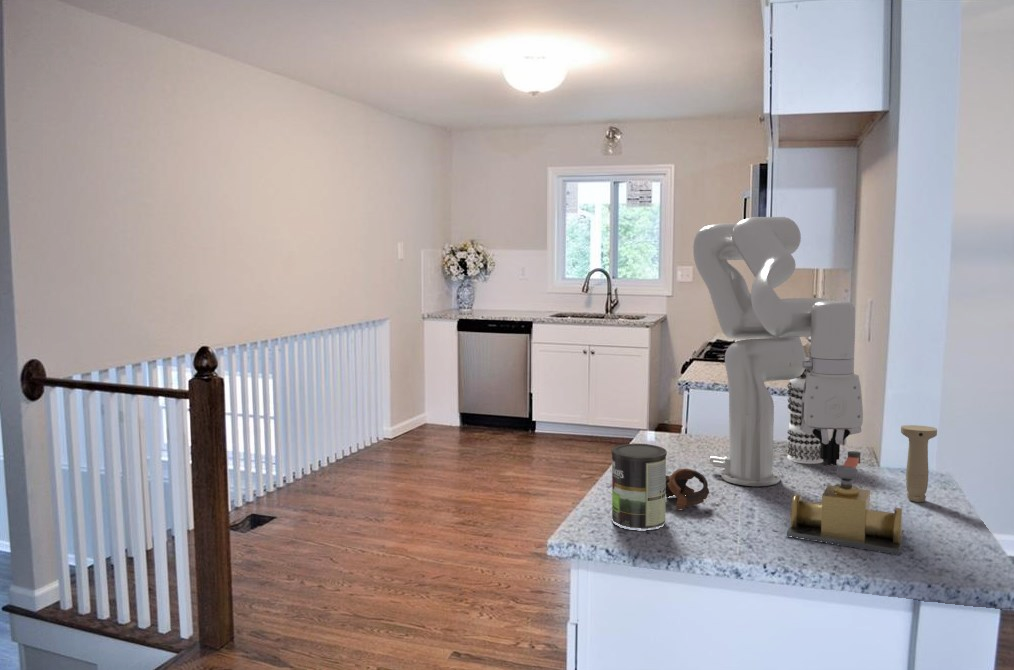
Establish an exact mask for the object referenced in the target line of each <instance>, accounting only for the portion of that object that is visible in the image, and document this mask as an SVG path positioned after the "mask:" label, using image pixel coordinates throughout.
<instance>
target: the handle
mask: <svg viewBox="0 0 1014 670" xmlns="http://www.w3.org/2000/svg"><path fill="white" fill-rule="evenodd" d="M900 433H901V435H903V436H904V437H907V438H908V448H907V449H908V451H907V461H906V472H905V480H906V481H905V483H906V485H905V486H906V491H907V493H906V495H907V496H906V497H907V499H908V501H910V502H914V503H925V502H926V498H927V496H926V494H927V491H928V485H929V456H928V455H929V447H928V446H929V440H931V439H933V438H935V437H937V436H938V429H937V428H936V427H935V426H926V425H915V424H914V425H912V424H909V425H908V424H906V425H901V426H900Z"/></svg>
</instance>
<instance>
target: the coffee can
mask: <svg viewBox="0 0 1014 670" xmlns="http://www.w3.org/2000/svg"><path fill="white" fill-rule="evenodd" d="M610 451H611V455H612V456H611V475H612V478H611V479H612V480H611V487H612V488H611V489H612V490H611V491H612V493H611V496H612V497H611V498H612V499H611V500H612V501H611V505H612V506H611V509H612V510H611V511H612V513H611V520H612V519H613V521H614V522H616V523H618V524H620V525H622V526H626V527H630V528H641V529H648V528H656V527H659V526H662V525H663V524H664V523H665V521H666V502H667V501H666V500H667V499H666V476H667V475H666V474H667V465H666V464H667V453H668V452H667V450H666V448H664V447H662V446H658V445H656V444H655V445H654V444H650V443H649V444H647V443H624V444H619V445H616V446H613V447H612V448H611V450H610Z"/></svg>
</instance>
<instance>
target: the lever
mask: <svg viewBox="0 0 1014 670" xmlns="http://www.w3.org/2000/svg"><path fill="white" fill-rule="evenodd" d="M861 455H862V454H861V452H860V451H856V450H854V451H852V450H849V451H847V458H846V459H845V461H844V463H843V465H841V466H840V465H839V466H837V467H836V476H837V477H838V478H840V479H841V478H844V479H852V480H854V479H857V478H858V477H857V475H858V473H857V472H858V470H857V466H858V465H859V464H861Z"/></svg>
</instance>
